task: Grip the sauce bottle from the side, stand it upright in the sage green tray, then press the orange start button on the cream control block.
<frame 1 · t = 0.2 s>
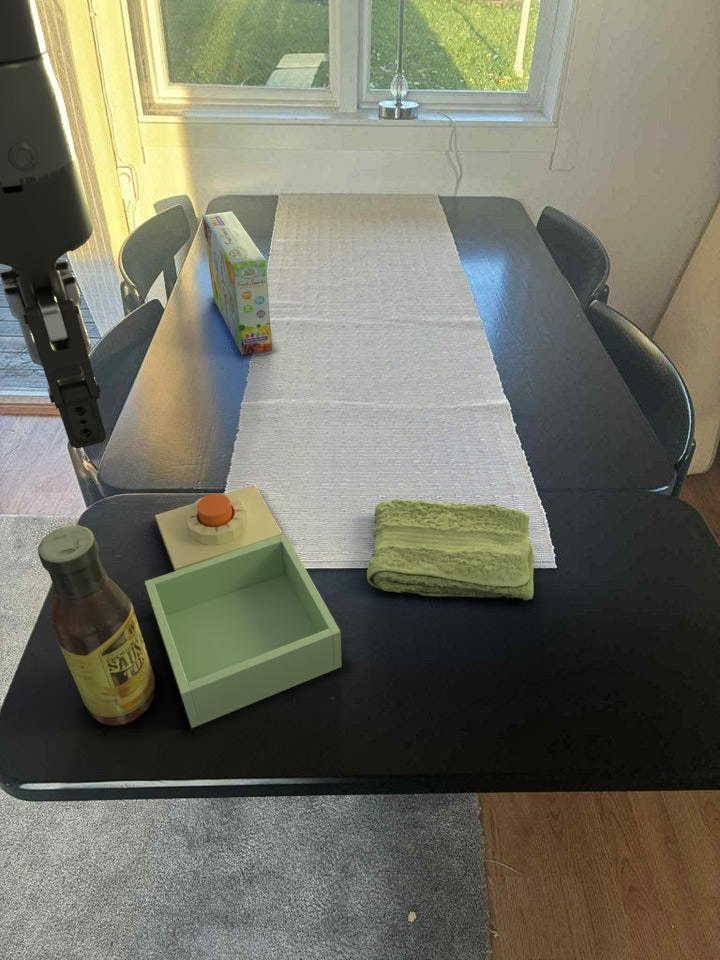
hand: (77, 408, 47), 30 cm above the table, tool pointing down, fingers open, 8 cm apart
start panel: (219, 535, 80), on the table
start button: (215, 510, 77), point 4 cm above the table, slide at 0.1 cm
snack box: (242, 324, 117), on the table
washcloth: (449, 556, 77), on the table
sage green tray: (245, 641, 69), on the table
sauce bottle: (124, 697, 64), on the table
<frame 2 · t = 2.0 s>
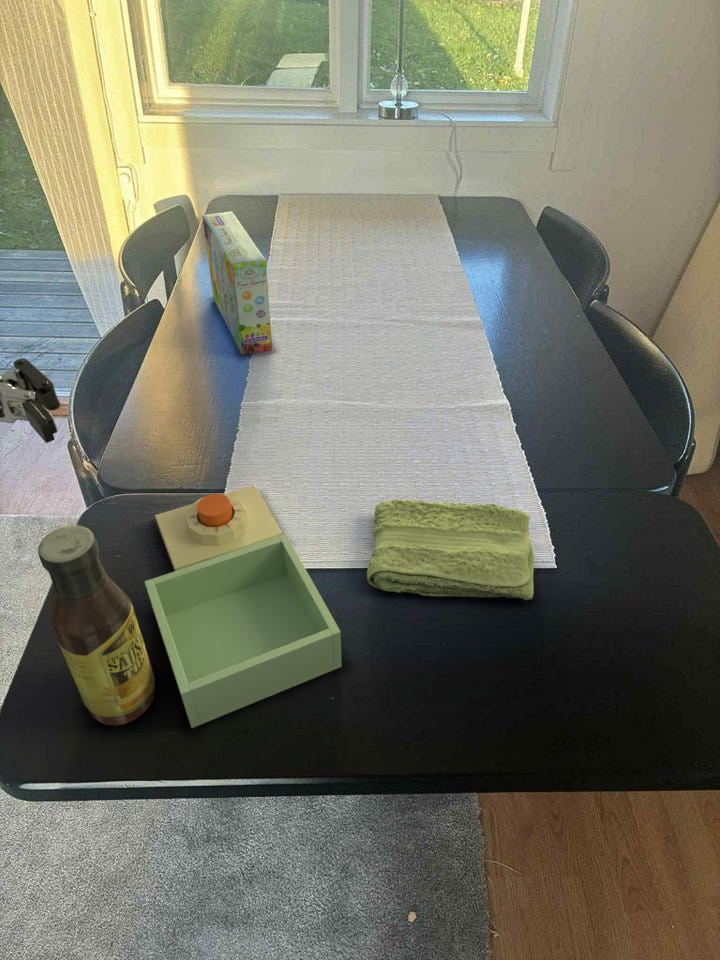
nothing on the table moved.
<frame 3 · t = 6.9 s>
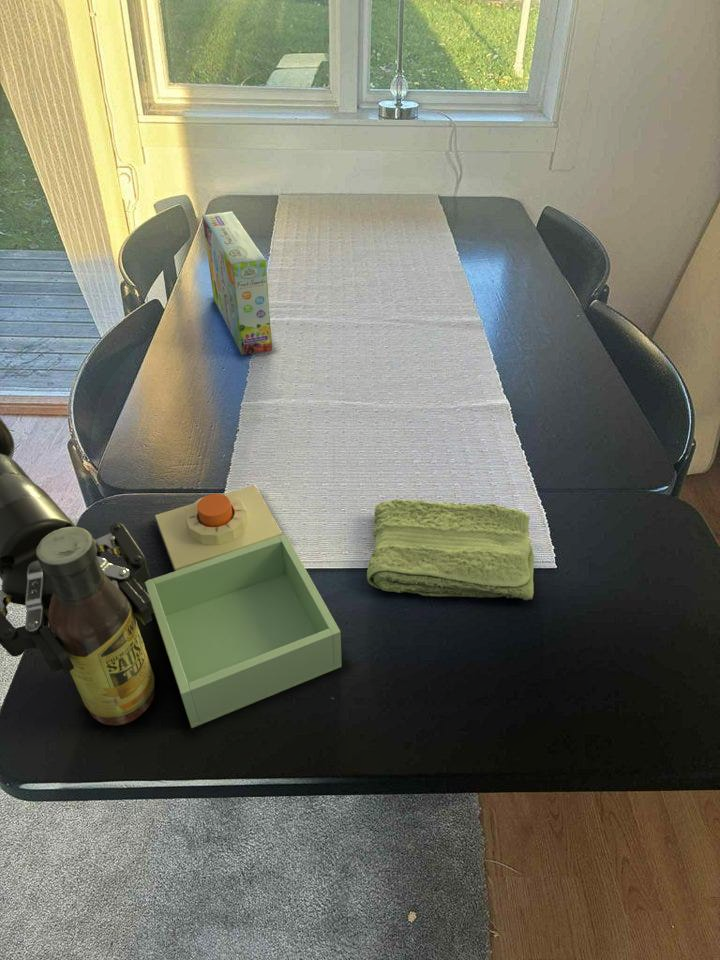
hand: (108, 639, 56), 11 cm above the table, tool horizontal, fingers closed on sauce bottle, 6 cm apart
sauce bottle: (124, 697, 64), on the table, touching gripper
everything else where it was.
when the fingers open (12 cm above the table, at t = 14.5 s): sauce bottle stays where it is, resting on sage green tray.
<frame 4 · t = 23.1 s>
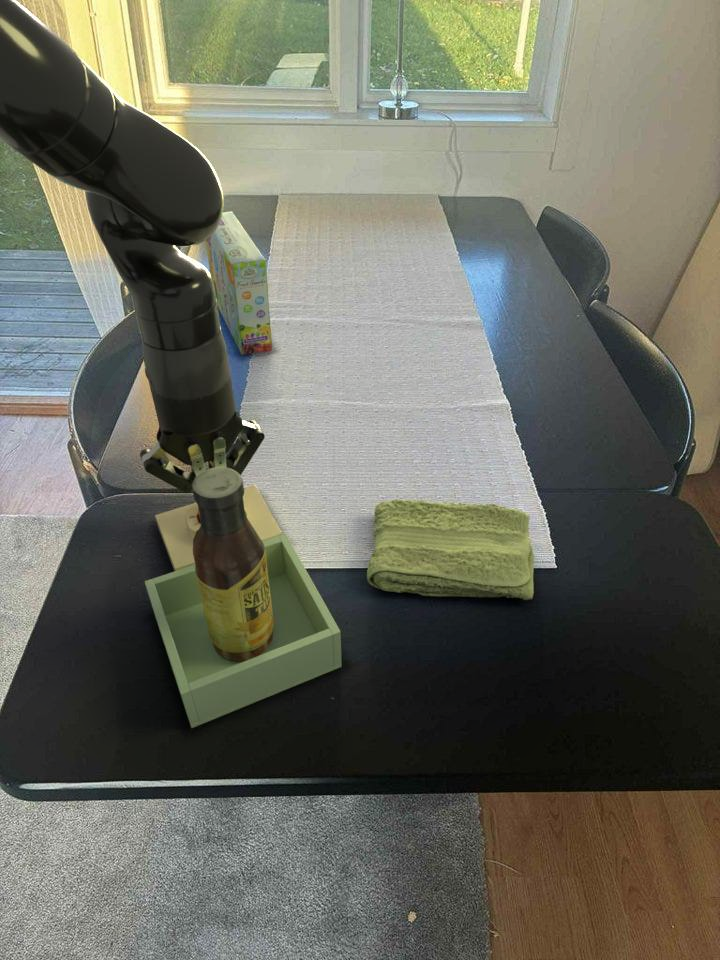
hand: (215, 508, 77), 4 cm above the table, tool pointing down, fingers closed
start button: (215, 514, 77), point 3 cm above the table, slide at -0.4 cm, touching gripper
sauce bottle: (244, 638, 69), resting on sage green tray
everything else where it was.
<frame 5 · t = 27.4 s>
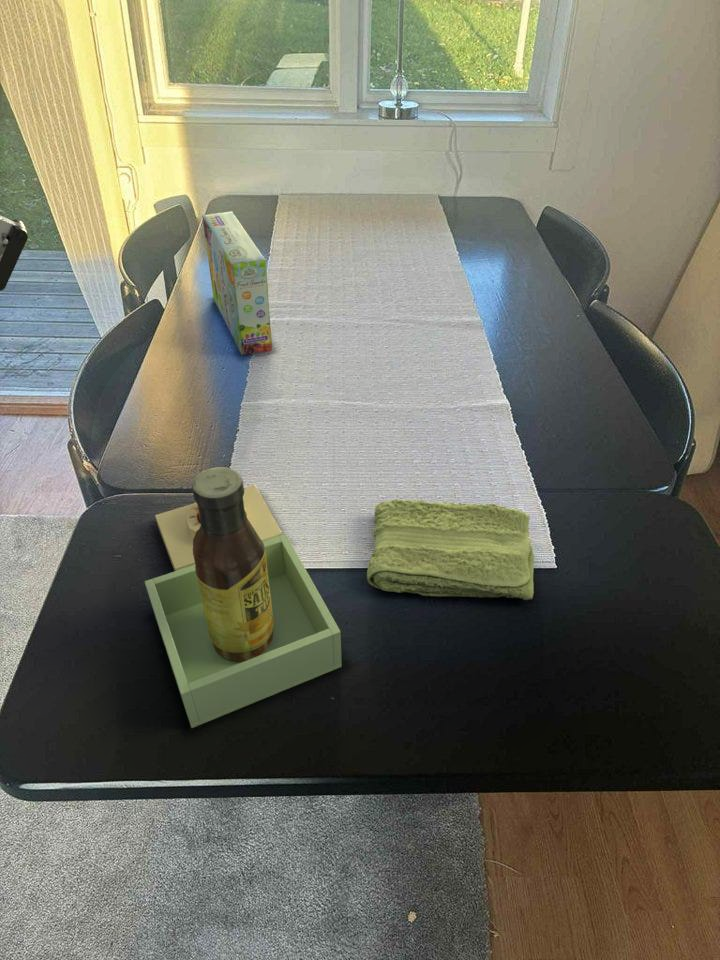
start button: (215, 510, 77), point 4 cm above the table, slide at 0.1 cm
everything else where it was.
at the end: sauce bottle inside the target area in the sage green tray (0.2 cm from its centre), point 0.3 cm above the sage green tray's base; sauce bottle tilted 0°; start button pushed in 0.9 cm at the most during the clip, back to where it started at the end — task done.
